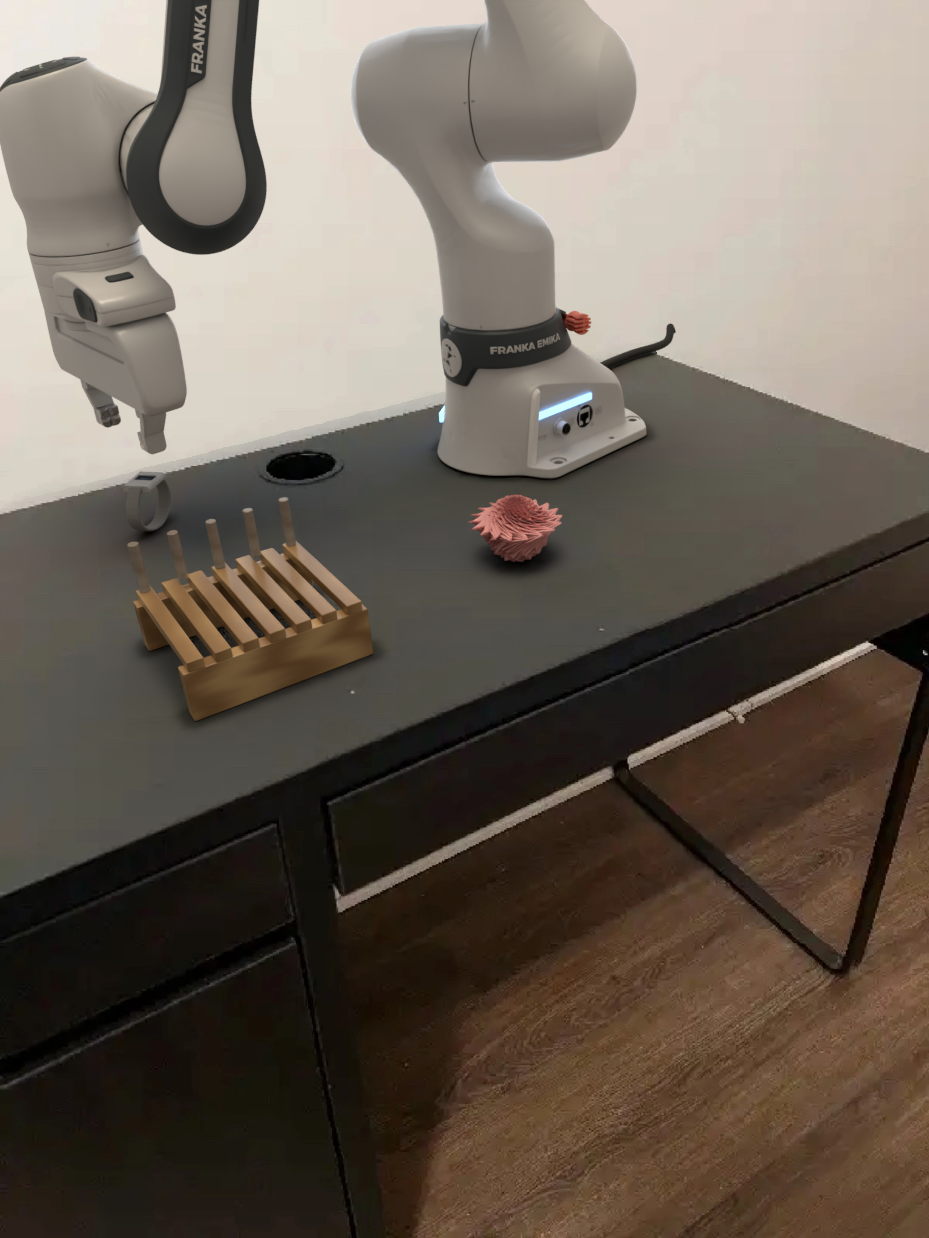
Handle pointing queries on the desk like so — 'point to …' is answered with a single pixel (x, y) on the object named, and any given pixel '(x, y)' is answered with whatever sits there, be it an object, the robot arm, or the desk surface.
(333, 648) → the rack
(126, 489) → the wristwatch
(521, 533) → the flower
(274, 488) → the desk surface
